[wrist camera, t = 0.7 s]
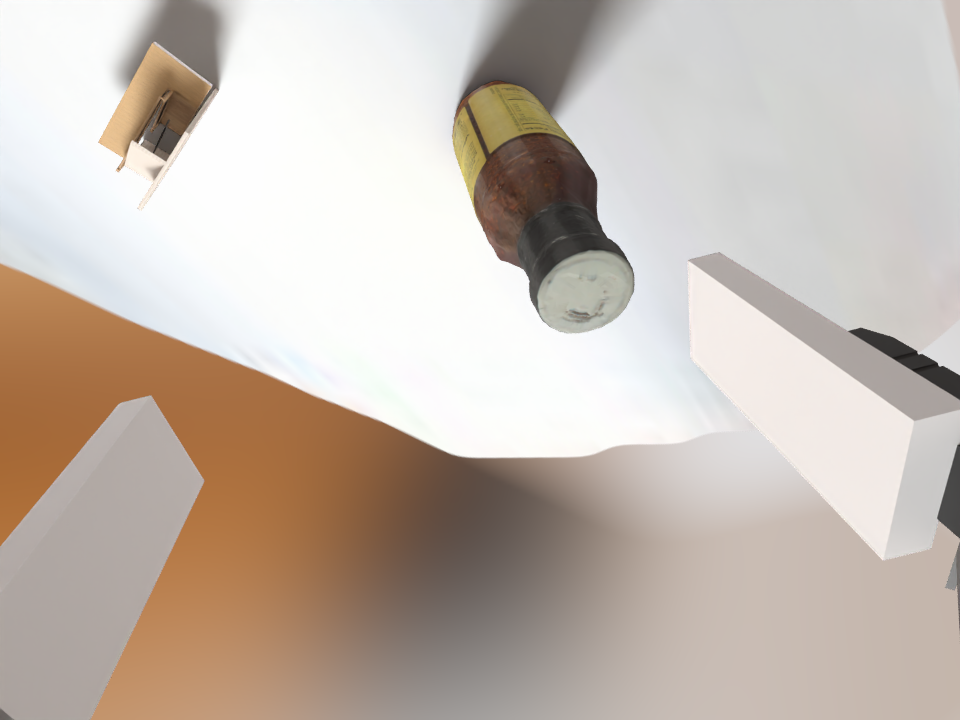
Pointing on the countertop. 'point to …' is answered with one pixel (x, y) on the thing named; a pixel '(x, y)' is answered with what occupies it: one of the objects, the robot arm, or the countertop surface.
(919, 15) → the countertop surface
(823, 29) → the countertop surface
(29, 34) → the countertop surface
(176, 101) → the architectural model
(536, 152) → the sauce bottle
